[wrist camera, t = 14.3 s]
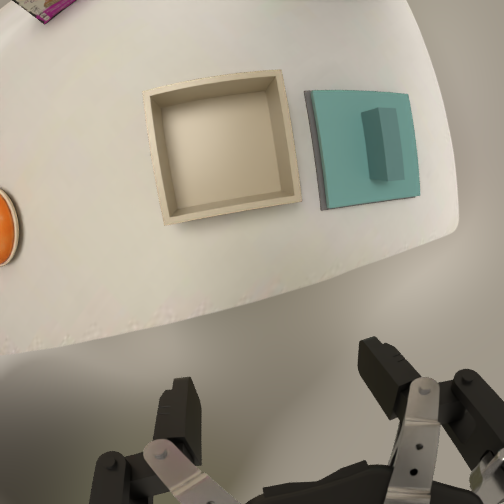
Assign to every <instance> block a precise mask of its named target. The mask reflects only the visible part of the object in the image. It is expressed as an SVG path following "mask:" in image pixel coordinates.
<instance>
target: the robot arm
mask: <svg viewBox="0 0 504 504" xmlns="http://www.w3.org/2000/svg"><path fill="white" fill-rule="evenodd" d="M358 371H359V373H360V376H361V377H362V379H363V380H364V382H365V383H366V385H367V386H368V388H369V389H370V391H371V392H372V394H373V396H374V397H375V398H376V400H377V402H378V403H379V405H380V406H381V408H382V409H383V411H384V412H385V414H386V416H387V417H388V419H389V420H392V419H394V418H397V417H398V418H399V420H400V422H399V425H398V430H397V434H396V438H395V442H394V446H393V450H392V453H391V456H390V460H389V462H388V465H368V464H367V462H366V461H365V460H363V461H361V462H358V463H355V464H353V465H350V466H347V467H344V468H341V469H340V470H338V471H336V472H334V473H332V474H331V475H329V476H327V477H325V478H323V479H321V480H319V481H316V482H297V483H285V484H280V485H275V486H270V487H264V488H263V492H264V494H261V495H259V496H257V497H255V498H253V499H251V500H250V501H248V502H247V503H246V504H499V503H502V502H504V401H503V400H502V399H501V398H500V397H499V396H498V395H497V394H496V393H495V391H494V390H493V389H491V387H490V386H489V385H488V384H487V383H486V382H485V381H484V380H483V379H482V378H481V376H480V375H479V374H478V373H477V372H475V371H473V370H470V369H463V370H460V371H458V372H457V373H456V374H455V376H454V379H453V380H450V381H445V382H439V383H437V382H436V381H435V380H434V379H432V378H429V377H421V376H420V374H419V373H418V372H417V371H416V370H415V369H414V368H413V367H412V365H411V364H410V363H409V362H408V361H407V360H405V358H404V357H403V356H402V355H401V353H400V352H399V351H398V350H397V349H396V348H395V347H394V346H392V345H390V344H387V343H384V344H382V343H381V342H380V341H379V340H378V339H377V338H376V337H375V336H373V337H370V338H367V339H364V340H361V341H360V342H359V353H358ZM158 407H159V408H158V412H157V417H156V424H155V430H154V436H153V441H152V442H150V443H149V444H148V445H147V446H146V447H145V449H144V451H143V452H141V453H138V454H134V455H130V456H126V457H124V456H123V455H122V454H120V453H119V452H115V451H110V452H106V453H104V454H102V455H101V456H100V457H99V458H98V460H97V462H96V467H95V472H94V477H93V483H92V489H91V495H90V502H89V504H153V496H154V495H157V494H161V493H165V492H169V491H171V493H172V494H173V495H174V496H175V497H176V498H177V499H178V501H179V502H180V503H181V504H241V503H240V502H238V501H237V500H236V499H235V498H234V497H232V496H231V495H230V494H229V493H227V492H226V491H225V490H224V489H223V488H222V487H220V486H219V485H218V484H217V483H216V482H215V481H213V479H211V478H210V477H209V476H208V475H207V474H206V473H204V472H201V471H200V470H199V469H198V468H197V467H196V466H201V465H202V462H201V461H202V459H201V458H202V455H201V404H200V399H199V397H198V394H197V392H196V389H195V387H194V384H193V381H192V379H191V377H183V378H175V379H174V381H173V388H172V390H165V391H164V393H163V394H162V396H161V397H160V401H159V406H158ZM440 425H442V426H443V428H444V429H445V431H446V432H447V434H448V435H449V437H450V438H451V440H452V441H453V443H454V444H455V446H456V447H457V449H458V450H459V452H460V453H461V455H462V457H463V458H464V460H465V461H466V463H467V465H468V466H469V468H470V469H471V471H472V472H471V474H470V478H469V481H470V488H471V490H472V491H469V490H465V489H462V488H457V487H454V486H450V485H447V484H443V483H440V482H436V481H433V475H434V469H435V463H436V457H437V451H438V443H439V435H440Z"/></svg>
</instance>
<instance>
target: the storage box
mask: <svg viewBox="0 0 504 504" xmlns="http://www.w3.org/2000/svg"><path fill="white" fill-rule="evenodd" d="M142 93H143V102H144V110H145V118H146V125H147V132H148V139H149V146H150V152H151V158H152V164H153V170H154V175H155V181H156V186H157V192H158V197H159V202H160V207H161V212H162V216H163V221H164V226H166V225H171V224H176V223H181V222H186V221H191V220H196V219H202V218H207V217H212V216H218V215H223V214H229V213H234V212H240V211H246V210H252V209H257V208H263V207H270V206H276V205H282V204H288V203H295V202H301V201H302V196H301V188H300V181H299V173H298V166H297V159H296V152H295V145H294V139H293V132H292V126H291V120H290V114H289V108H288V102H287V97H286V91H285V86H284V80H283V75H282V70H267V71H254V72H244V73H235V74H227V75H220V76H213V77H207V78H201V79H196V80H190V81H185V82H180V83H175V84H171V85H166V86H162V87H158V88H154V89H150V90H146V91H142Z"/></svg>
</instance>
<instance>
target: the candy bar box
mask: <svg viewBox="0 0 504 504" xmlns="http://www.w3.org/2000/svg"><path fill="white" fill-rule="evenodd" d="M12 1H14V2H15V3H17V4H18V5H19V6H21V7H22V8H23V9H25V10H26V11H28V12H29V13H30V14H31V15H33V16H34V17H35V18H37V19H38V20H39V21H41V22H42V23H43V24H46V23H47V22H48V21H49V20H50V19H52V18H53V17H54V16H55V15H57V14H58V13H59V12H61V11H62V10H63V9H65V8H66V7H67V6H69V5H70V4H71V3H73V2H74V1H76V0H12Z"/></svg>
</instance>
